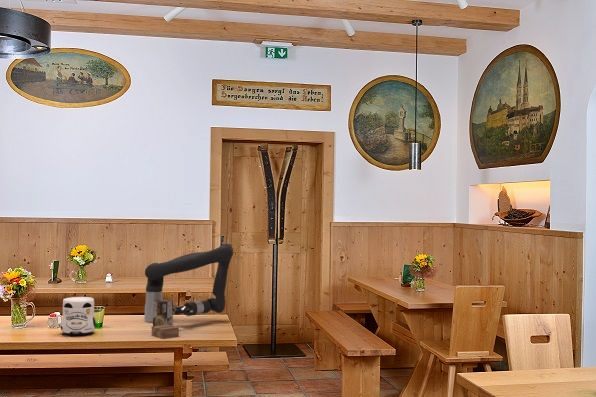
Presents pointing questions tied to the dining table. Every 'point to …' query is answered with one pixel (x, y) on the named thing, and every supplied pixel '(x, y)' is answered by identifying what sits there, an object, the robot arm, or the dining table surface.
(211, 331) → the dining table surface
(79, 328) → the milk container
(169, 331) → the walnut block
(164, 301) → the coffee box
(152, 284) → the robot arm
